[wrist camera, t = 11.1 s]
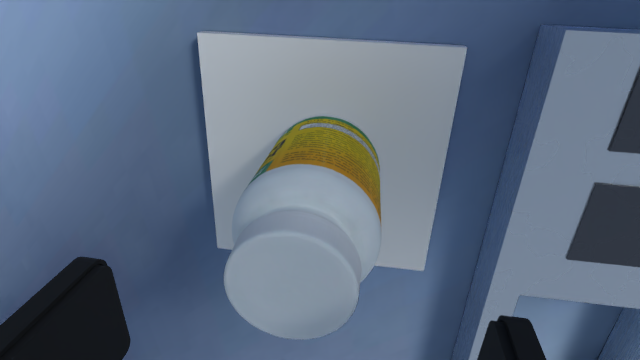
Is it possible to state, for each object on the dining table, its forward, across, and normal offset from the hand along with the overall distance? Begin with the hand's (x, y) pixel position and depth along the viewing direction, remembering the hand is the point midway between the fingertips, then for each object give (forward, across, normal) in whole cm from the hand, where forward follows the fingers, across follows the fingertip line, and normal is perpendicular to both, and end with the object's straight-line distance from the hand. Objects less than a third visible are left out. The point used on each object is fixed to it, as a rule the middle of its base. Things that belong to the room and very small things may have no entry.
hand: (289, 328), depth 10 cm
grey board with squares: (+12, -13, +6) cm, 19 cm away
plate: (+12, +1, +1) cm, 12 cm away
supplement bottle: (+11, +1, +1) cm, 11 cm away
